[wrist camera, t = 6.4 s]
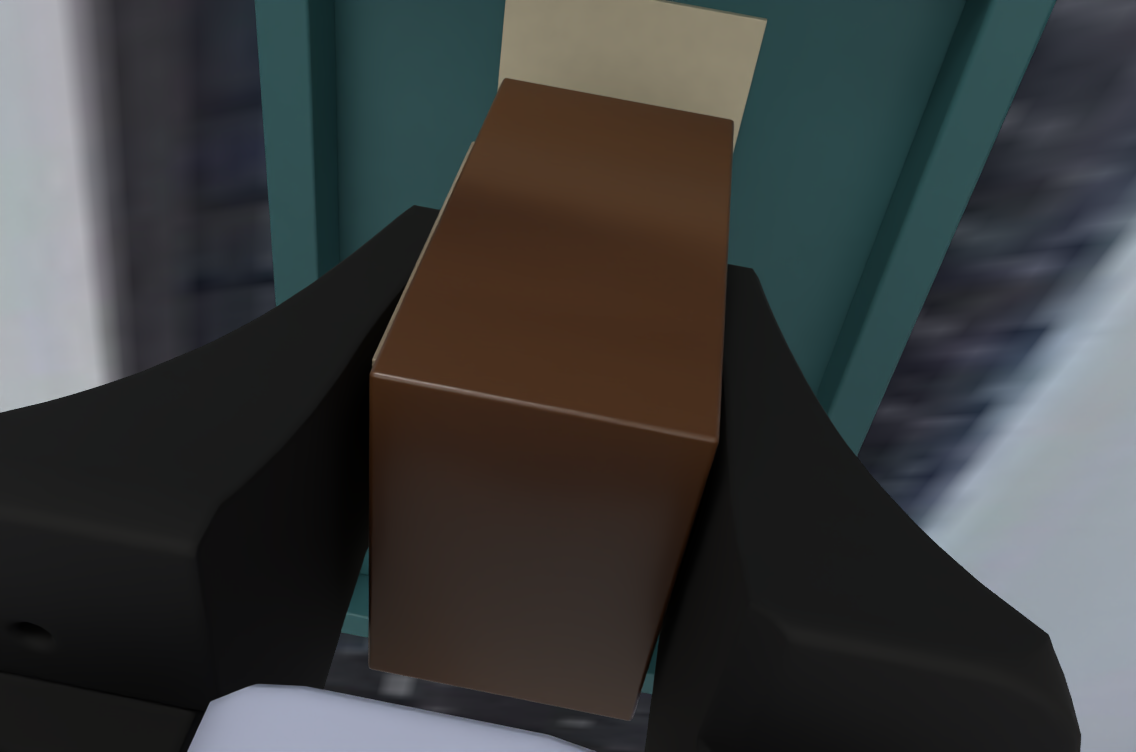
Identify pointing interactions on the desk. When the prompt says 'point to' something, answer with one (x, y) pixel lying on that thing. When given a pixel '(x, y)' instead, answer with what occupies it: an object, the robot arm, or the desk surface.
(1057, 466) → the desk surface
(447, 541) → the chocolate brown cuboid
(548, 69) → the cream flat panel
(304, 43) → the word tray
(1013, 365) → the desk surface
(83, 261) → the desk surface
